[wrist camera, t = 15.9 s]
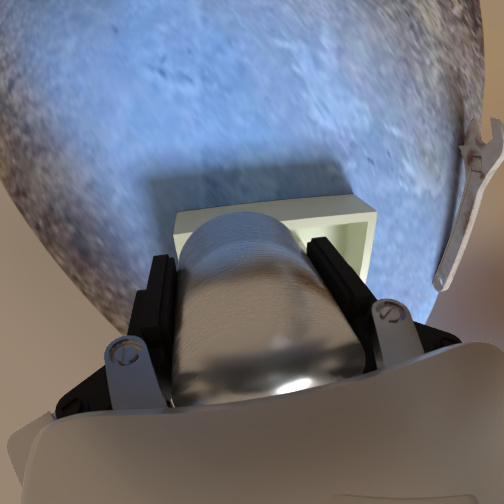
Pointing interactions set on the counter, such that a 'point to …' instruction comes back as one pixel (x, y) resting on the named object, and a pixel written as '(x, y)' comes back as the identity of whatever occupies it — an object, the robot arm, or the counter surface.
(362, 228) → the crate
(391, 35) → the counter surface
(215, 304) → the tea tin
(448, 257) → the wrench
